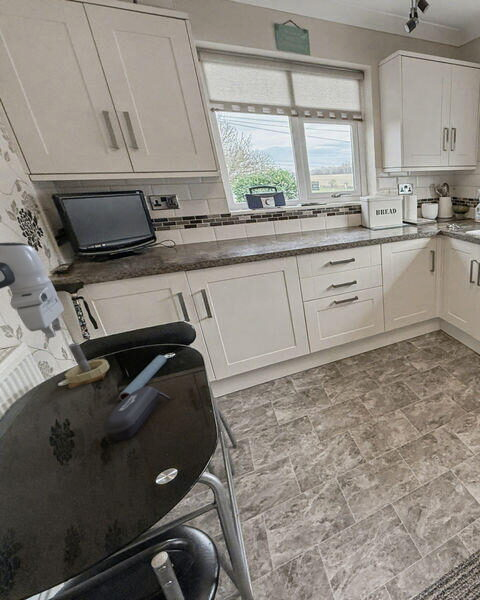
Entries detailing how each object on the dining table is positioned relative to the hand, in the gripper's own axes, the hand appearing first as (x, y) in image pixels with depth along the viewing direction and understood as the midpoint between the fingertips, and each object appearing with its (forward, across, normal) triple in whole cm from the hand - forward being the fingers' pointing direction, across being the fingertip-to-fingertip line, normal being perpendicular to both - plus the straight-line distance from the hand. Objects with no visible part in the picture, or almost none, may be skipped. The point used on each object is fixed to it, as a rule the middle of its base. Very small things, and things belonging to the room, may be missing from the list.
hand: (55, 333), depth 106 cm
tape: (+17, 0, +3) cm, 17 cm away
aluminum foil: (+18, +16, +19) cm, 31 cm away
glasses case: (+18, +41, +21) cm, 50 cm away
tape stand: (+18, +1, +3) cm, 18 cm away
